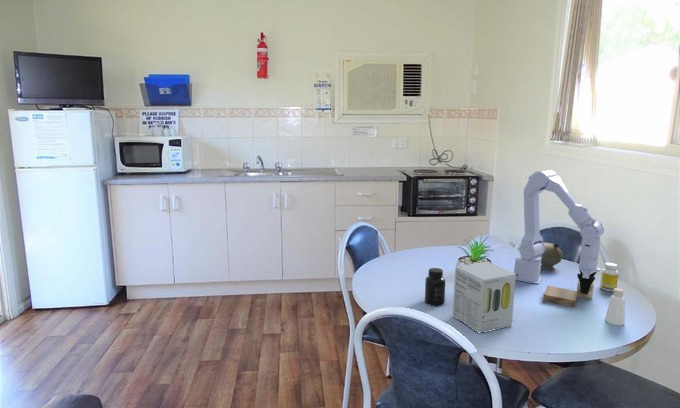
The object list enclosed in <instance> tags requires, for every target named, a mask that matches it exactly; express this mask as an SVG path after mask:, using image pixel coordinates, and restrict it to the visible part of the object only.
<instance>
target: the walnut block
mask: <svg viewBox="0 0 680 408" xmlns="http://www.w3.org/2000/svg"><path fill="white" fill-rule="evenodd" d="M577 299H578V291H577V290H574V289H569V288H563V287H558V286H552V285H547V286H546V288H545V291H544V293H543V299H542V302H545V303H549V304H554V305H560V306H564V307H569V308H575V307H576V304H577V301H578V300H577Z"/></svg>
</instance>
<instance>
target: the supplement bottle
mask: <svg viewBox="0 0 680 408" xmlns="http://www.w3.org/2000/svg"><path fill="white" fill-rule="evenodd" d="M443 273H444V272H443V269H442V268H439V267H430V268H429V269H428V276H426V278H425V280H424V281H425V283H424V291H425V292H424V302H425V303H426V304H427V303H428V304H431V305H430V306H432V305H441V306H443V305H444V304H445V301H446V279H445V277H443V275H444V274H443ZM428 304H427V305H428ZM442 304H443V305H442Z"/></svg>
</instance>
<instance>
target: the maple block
mask: <svg viewBox="0 0 680 408" xmlns="http://www.w3.org/2000/svg"><path fill="white" fill-rule="evenodd" d="M594 287H595V281H593V282H592V284H591V286H590V289H589V292H588V294H582V293H581V289H580V282H579V280H578V281H577V287H576V291H578V296H577V298H578V297H579V298H584V299H589V300H592V299H593V294H594Z"/></svg>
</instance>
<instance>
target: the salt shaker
mask: <svg viewBox="0 0 680 408" xmlns="http://www.w3.org/2000/svg"><path fill="white" fill-rule="evenodd" d="M624 293H625V290H624V289H622V288H619V287H617V288H615V289H614V291H613V294H612V295H610V299H609V302H608V307H607V310H606V315H605V317H604V320H605V322H607V324H610V325H612V326H623V325H625V321H626V319H625V317H626V316H625V313H626V309H625V308H626V299H625V297H624Z"/></svg>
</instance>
